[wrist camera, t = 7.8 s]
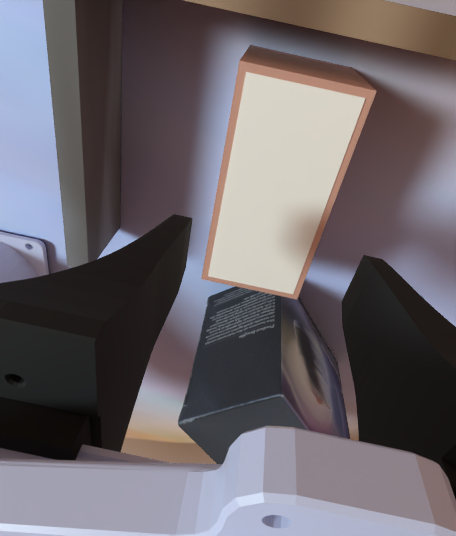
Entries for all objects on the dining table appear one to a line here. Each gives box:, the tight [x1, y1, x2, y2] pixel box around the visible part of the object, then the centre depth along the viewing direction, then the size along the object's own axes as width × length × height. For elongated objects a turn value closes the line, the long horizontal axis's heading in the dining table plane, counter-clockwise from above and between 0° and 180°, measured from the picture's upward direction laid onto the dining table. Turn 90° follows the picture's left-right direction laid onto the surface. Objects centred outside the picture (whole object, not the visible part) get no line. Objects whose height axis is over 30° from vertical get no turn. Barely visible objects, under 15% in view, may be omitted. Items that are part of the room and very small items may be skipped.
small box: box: [178, 286, 350, 464], centre depth 25 cm, size 11×6×10 cm, turn 30°
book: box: [202, 45, 377, 299], centre depth 19 cm, size 5×10×6 cm, turn 169°
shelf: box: [43, 0, 456, 267], centre depth 19 cm, size 17×14×5 cm
